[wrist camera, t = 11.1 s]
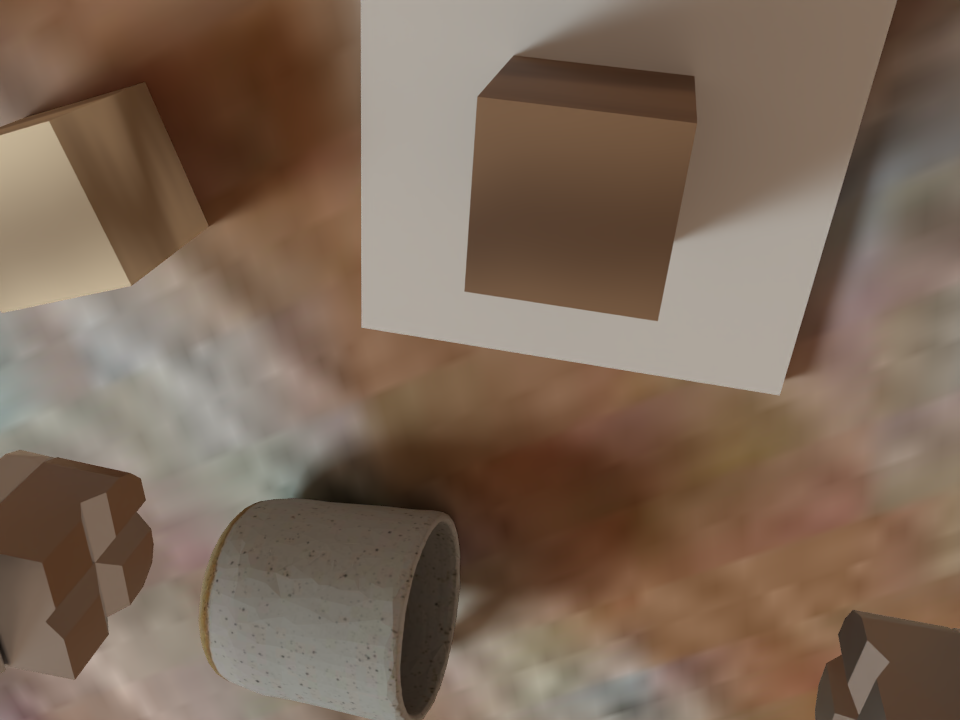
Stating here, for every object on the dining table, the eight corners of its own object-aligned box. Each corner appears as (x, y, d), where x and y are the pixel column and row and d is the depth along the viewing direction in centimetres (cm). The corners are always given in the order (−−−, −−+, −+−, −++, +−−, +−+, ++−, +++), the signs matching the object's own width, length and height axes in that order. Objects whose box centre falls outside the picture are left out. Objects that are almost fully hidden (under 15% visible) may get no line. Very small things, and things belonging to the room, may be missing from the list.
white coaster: (370, -144, 23) (360, -145, 22) (918, -100, 21) (926, -98, 20) (369, 317, 30) (361, 327, 29) (777, 382, 28) (779, 395, 27)
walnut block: (513, 55, 24) (477, 96, 20) (694, 75, 23) (697, 123, 19) (499, 223, 26) (464, 291, 22) (661, 246, 26) (657, 321, 22)
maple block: (25, 117, 29) (-87, 160, 25) (146, 81, 28) (48, 120, 23) (94, 252, 31) (1, 313, 27) (209, 225, 30) (131, 285, 25)
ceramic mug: (255, 457, 34) (157, 599, 28) (453, 470, 33) (396, 624, 26) (303, 640, 40) (230, 794, 33) (475, 659, 38) (432, 826, 32)
